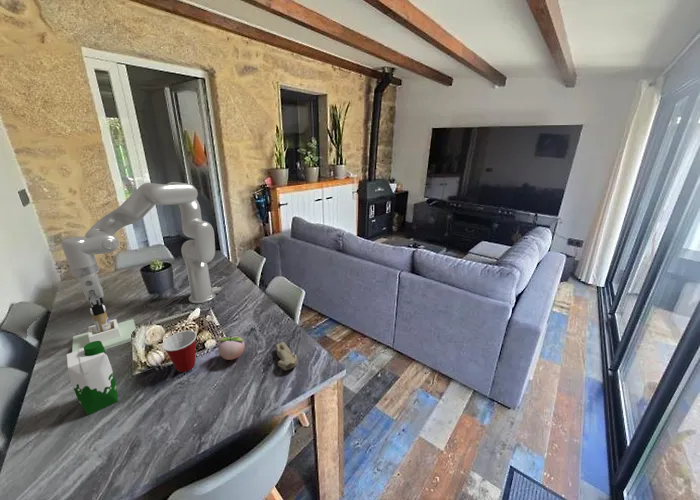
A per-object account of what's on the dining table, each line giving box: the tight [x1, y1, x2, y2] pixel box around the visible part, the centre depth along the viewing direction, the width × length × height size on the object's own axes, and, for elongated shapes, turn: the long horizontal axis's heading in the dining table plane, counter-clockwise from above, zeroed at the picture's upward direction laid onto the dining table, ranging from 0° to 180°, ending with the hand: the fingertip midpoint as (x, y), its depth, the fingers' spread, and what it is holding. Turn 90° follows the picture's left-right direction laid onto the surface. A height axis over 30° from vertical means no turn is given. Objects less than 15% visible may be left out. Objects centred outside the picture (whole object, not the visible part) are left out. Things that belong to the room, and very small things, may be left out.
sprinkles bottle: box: [89, 304, 111, 333], centre depth 115 cm, size 5×5×13 cm
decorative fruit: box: [217, 335, 246, 361], centre depth 106 cm, size 9×8×10 cm
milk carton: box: [66, 341, 119, 416], centre depth 86 cm, size 9×9×20 cm
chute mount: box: [71, 318, 137, 353], centre depth 117 cm, size 20×16×6 cm
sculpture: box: [275, 341, 298, 371], centre depth 107 cm, size 7×5×15 cm
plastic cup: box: [161, 329, 197, 373], centre depth 102 cm, size 11×11×12 cm
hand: (98, 309), depth 114 cm, fingers open, 9 cm apart
